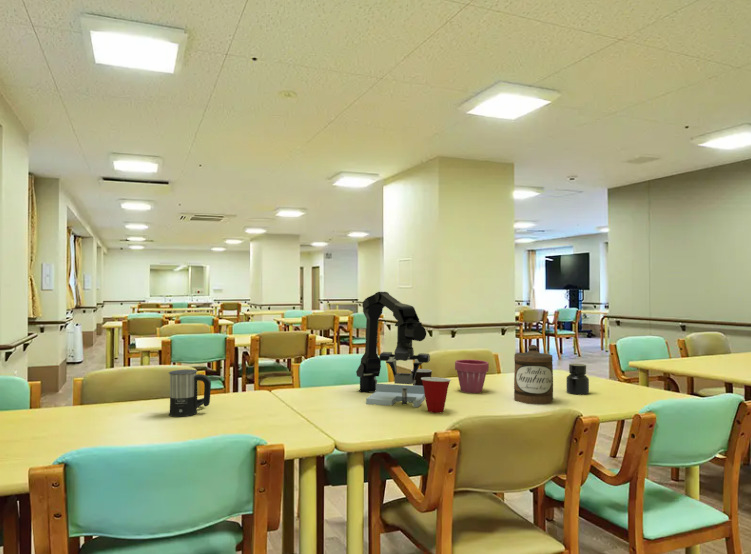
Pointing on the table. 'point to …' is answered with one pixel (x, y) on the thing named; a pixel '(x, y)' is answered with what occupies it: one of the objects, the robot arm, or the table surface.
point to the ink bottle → (577, 379)
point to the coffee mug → (421, 374)
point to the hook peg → (404, 395)
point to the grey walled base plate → (396, 394)
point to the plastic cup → (435, 393)
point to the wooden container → (533, 377)
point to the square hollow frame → (403, 378)
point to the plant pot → (471, 374)
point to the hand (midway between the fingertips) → (404, 379)
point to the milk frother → (187, 392)
